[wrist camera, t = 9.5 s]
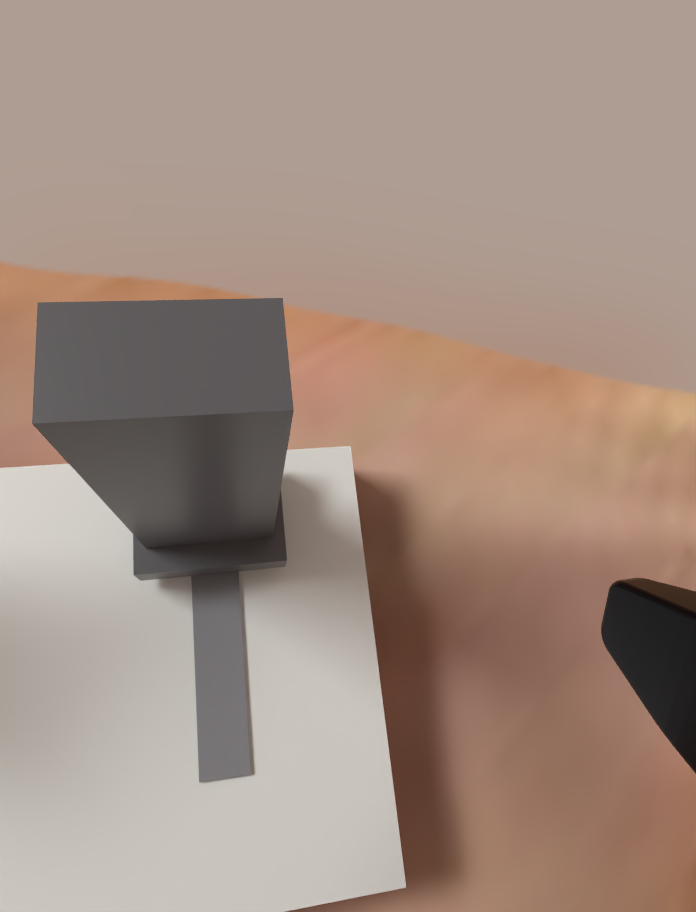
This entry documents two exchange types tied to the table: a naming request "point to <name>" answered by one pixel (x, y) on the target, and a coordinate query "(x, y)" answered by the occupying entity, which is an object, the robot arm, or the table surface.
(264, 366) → the lever
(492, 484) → the table surface
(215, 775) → the breaker panel
